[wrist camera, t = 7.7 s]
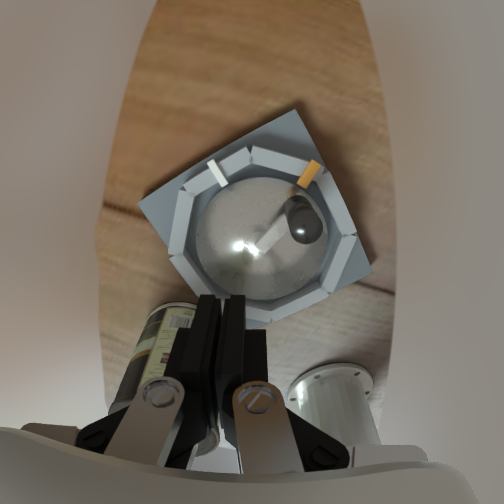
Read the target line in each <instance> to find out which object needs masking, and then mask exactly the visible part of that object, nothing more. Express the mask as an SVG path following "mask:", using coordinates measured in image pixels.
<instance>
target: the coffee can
mask: <svg viewBox="0 0 504 504" xmlns="http://www.w3.org/2000/svg"><path fill="white" fill-rule="evenodd" d="M196 307H197V305H194V304H190V303H184V302H174V303H168V304H165V305H162V306H160V307H158V308H156V309H155V310H154V311H152V312H151V314H150V315H149V316H148V318H147V320H146V324H145V327H144V329H143V332H142V334H141V336H140V339H139V341H138V343H137V346H136V348H135V350H134V353H133V355H132V358H131V360H130V362H129V365H128V367H127V370H126V372H125V375H124V377H123V379H122V382H121V384H120V387H119V390H118V392H117V395H116V397H115V400H114V402H113V403H112V405H111V406H110V409H109V412H108V415H110V414H112V413H114V412H116V411H119V410H121V409H123V408H125V407H127V406H129V405H130V404H131V403H132V401H133V399H134V397H135V395H136V394H137V392H138V390H139V388H140V387H141V386H142V385H143V383H145V382H146V381H148V380H149V379H152V378H155V377H161V376H163V374H164V371H165V367H166V364H167V361H168V358H169V355H170V352H171V348H172V345H173V342H174V339H175V336H176V333H177V330H178V328H179V327H184V328H191V325H192V322H193V318H194V314H195V311H196ZM219 423H220V417H219V413H218V423H217V428H211V435H210V436H206V438H205V439H204V440H202V441H201V442H199V443H198V449H197V452H196V455H195V457H198V456H202V455H206V454H208V453H210V452H212V451H214V450H215V449H216V448H217V446H218V445H219V442H220V433H219Z"/></svg>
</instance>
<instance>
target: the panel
mask: <svg viewBox="0 0 504 504" xmlns="http://www.w3.org/2000/svg"><path fill="white" fill-rule="evenodd" d="M251 176H273V177H278V178H282V179H285V180H287V181H290V182H292V183H294V184H296V185H297V186H299V187H300V188H302V189H303V190H304V191H305V192H307V193H308V194H309V195H310V197H311V198H312V199H313V200H314V201H315V203H316V204H317V206H318V207H319V209H320V210H321V212H322V214H323V216H324V219H325V222H326V226H327V232H328V244H327V251H326V254H325V258H324V260H323V262H322V264H321V266H320V268H319V270H318V271H317V273H316V274H315V275H314V276H313V278H312V279H311V280H310V281H309V282H308V283H306V284H305V285H304V286H303V287H301V288H300V289H298V290H296V291H295V292H293V293H291V294H288V295H286V296H283V297H279V298H275V299H268V300H254V299H247V298H246V329H256V328H258V327H261V326H263V325H265V324H267V323H270V322H272V321H274V322H276V321H278V320H280V319H282V318H285V317H287V316H289V315H291V314H293V313H295V312H298V311H300V310H302V309H304V308H306V307H308V306H310V305H312V304H315V303H317V302H319V301H321V300H323V299H325V298H327V297H329V294H331V293H333V292H335V291H337V290H339V289H341V288H343V287H345V286H347V285H349V284H351V283H353V282H355V281H357V280H359V279H361V278H363V277H365V276H367V275H369V274H371V273H373V271H372V269H371V266H370V264H369V261H368V259H367V256H366V254H365V251H364V249H363V247H362V244H361V242H360V239H359V237H358V235H357V230H356V228H355V225H354V223H353V221H352V218H351V216H350V214H349V212H348V209H347V207H346V205H345V203H344V201H343V198H342V196H341V194H340V192H339V190H338V188H337V186H336V184H335V182H334V179H333V177H332V175H331V173H330V171H328V170H327V168H326V166H325V164H324V162H323V160H322V158H321V156H320V154H319V152H318V150H317V148H316V146H315V144H314V142H313V140H312V138H311V137H310V135H309V133H308V131H307V129H306V127H305V125H304V124H303V122H302V120H301V118H300V116H299V115H298V113H297V111H296V109H293V110H291V111H289V112H287V113H285V114H283V115H281V116H279V117H278V118H276V119H274V120H272V121H270V122H268V123H266V124H264V125H262V126H261V127H259V128H257V129H255V130H253V131H251V132H250V133H248V134H246V135H244V136H242V137H241V138H239V139H237V140H235V141H234V142H232V143H230V144H228V145H227V146H225V147H223V148H222V149H220V150H218V151H217V152H215V153H213V154H212V155H210V156H208V157H207V158H205V159H203V160H202V161H200V162H198V163H197V164H195V165H194V166H192V167H190V168H189V169H187V170H186V171H184V172H183V173H181V174H179V175H178V176H176V177H175V178H173V179H172V180H170V181H169V182H167V183H166V184H164V185H163V186H161V187H160V188H158V189H157V190H155V191H154V192H152V193H151V194H149V195H148V196H146V197H145V198H144V199H142V200H141V201H140V202H138V203H137V204H138V205H139V207H140V208H141V210H142V211H143V213H144V214H145V215H146V217H147V218H148V220H149V221H150V223H151V224H152V226H153V227H154V228H155V230H156V231H157V233H158V234H159V236H160V237H161V238H162V240H163V241H164V243H165V244H166V245H167V247H168V248H169V249H168V254H171V256H170V258H169V259H170V261H171V262H172V263H173V265H174V266H175V267H176V269H177V270H178V271H179V273H180V274H181V275H182V277H183V278H184V279H185V281H186V282H187V283H188V285H189V286H190V287H191V289H192V290H193V291H194V293H195V294H196V295H197V296H198V298H199V297H200V294H215V296H216V298H221V306H222V315H223V308H224V302H225V298H228V299H230V296H231V295H234V294H232V293H230V292H228V291H226V290H224V289H223V288H221V287H220V286H219V285H218V284H216V283H215V282H214V281H213V280H212V279H211V278H210V277H209V275H208V274H207V273H206V271H205V270H204V268H203V266H202V264H201V262H200V260H199V257H198V253H197V249H196V231H197V226H198V222H199V220H200V217H201V215H202V213H203V211H204V209H205V207H206V205H207V204H208V203H209V201H210V200H211V199H212V197H213V196H214V195H215V194H216V193H217V192H219V191H220V190H221V189H222V188H224V187H225V186H227V185H229V184H230V183H232V182H234V181H237V180H239V179H243V178H246V177H251Z"/></svg>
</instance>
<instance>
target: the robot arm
mask: <svg viewBox="0 0 504 504" xmlns="http://www.w3.org/2000/svg"><path fill="white" fill-rule="evenodd" d="M372 389H373V381H372V378H371V375H370V373H369V372H368V371H367V370H366V369H365V368H363V367H362V366H359V365H356V364H351V363H334V364H328V365H324V366H321V367H318V368H315V369H313V370H311V371H309V372H307V373H305V374H303V375H302V376H301V377H299V378H298V379H297V380H296V381H295V382H294V383H293V384H292V385H291V387H290V388H289V391H288V393H287V402H288V406H289V408H290V410H289V409H288V408H286V407H285V403H284V400H283V396H282V394H281V392H280V390H279V389H278V388H277V387H276V386H274V385H272V384H270V383H268V368H267V345H266V329H246V297H245V295H231V296H230V299H228V298H225V302H224V308H223V315H222V306H221V298H216V296H215V294H200V297H199V300H198V304H197V307H196V311H195V314H194V318H193V322H192V325H191V328H184V327H179V328H178V330H177V333H176V336H175V339H174V342H173V345H172V348H171V352H170V355H169V358H168V361H167V364H166V367H165V371H164V374H163V376H161V377H155V378H152V379H149V380H148V381H146V382H145V383H143V385H142V386H141V387H140V388H139V390H138V392H137V394H136V395H135V397H134V399H133V401H132V403H131V404H130V405H129V406H127V407H125V408H123V409H121V410H119V411H116V412H114V413H112V414H110V415H108V416H106V417H104V418H102V419H100V420H98V421H96V422H94V423H91V424H89V425H88V426H86V427H84V428H83V429H78V428H77V427H76V426H62V425H50V424H41V423H28V424H26V425H24V426H23V427H22V428H21V429H16V428H10V427H0V504H479V503H478V500H477V498H476V496H475V494H474V491H473V490H472V488H471V486H470V484H469V483H468V481H467V479H466V478H465V476H464V475H463V474H462V473H461V472H460V471H459V470H457V469H456V468H454V467H452V466H449V465H447V464H443V463H438V462H430V461H428V459H427V456H426V453H425V452H424V451H423V450H422V449H421V448H419V447H417V446H412V445H381V442H380V439H379V435H378V432H377V429H376V426H375V422H374V419H373V416H372V413H371V410H370V406H369V403H368V400H367V399H368V397H369V396H370V394H371V392H372ZM218 413H219V417H220V424H221V429H224V433H225V439H226V440H227V441H228V442H229V443H230V444H231V445H233V446H234V447H235V448H236V453H237V459H238V466H239V473H240V474H233V473H232V474H231V473H214V472H202V471H191V467H192V464H193V461H194V458H195V455H196V452H197V449H198V443H199V442H201V441H202V440H204V439H205V438H206V436H210V435H211V428H217V423H218Z"/></svg>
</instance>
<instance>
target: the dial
mask: <svg viewBox="0 0 504 504" xmlns="http://www.w3.org/2000/svg"><path fill="white" fill-rule="evenodd" d="M327 244H328V232H327V226H326V222H325V219H324V216H323V214H322V212H321V210H320V209H319V207H318V206H317V204H316V203H315V201H314V200H313V199H312V198H311V197H310V195H309V194H308V193H307V192H305V191H304V190H303V189H302V188H300V187H299V186H297V185H296V184H294V183H292V182H290V181H287V180H285V179H282V178H278V177H273V176H251V177H246V178H243V179H239V180H237V181H234V182H232V183H230V184H229V185H227V186H225V187H224V188H222V189H221V190H220V191H219V192H217V193H216V194H215V195H214V196H213V197H212V199H211V200H210V201H209V203H208V204H207V205H206V207H205V209H204V211H203V213H202V215H201V217H200V220H199V222H198V226H197V231H196V249H197V253H198V257H199V260H200V262H201V264H202V266H203V268H204V270H205V271H206V273H207V274H208V275H209V277H210V278H211V279H212V280H213V281H214V282H215V283H216V284H218V285H219V286H220V287H221V288H223V289H224V290H226V291H228V292H230V293H232V294H234V295H245V297H246V298H247V299H254V300H268V299H275V298H279V297H283V296H286V295H288V294H291V293H293V292H295V291H296V290H298V289H300V288H301V287H303V286H304V285H305V284H306V283H308V282H309V281H310V280H311V279H312V278H313V276H314V275H315V274H316V273H317V271H318V270H319V268H320V266H321V264H322V262H323V260H324V258H325V254H326V251H327Z"/></svg>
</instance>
